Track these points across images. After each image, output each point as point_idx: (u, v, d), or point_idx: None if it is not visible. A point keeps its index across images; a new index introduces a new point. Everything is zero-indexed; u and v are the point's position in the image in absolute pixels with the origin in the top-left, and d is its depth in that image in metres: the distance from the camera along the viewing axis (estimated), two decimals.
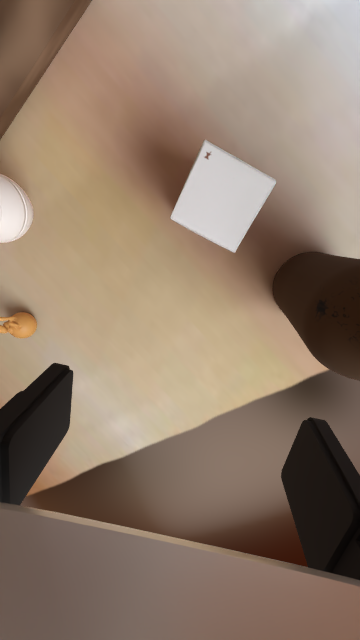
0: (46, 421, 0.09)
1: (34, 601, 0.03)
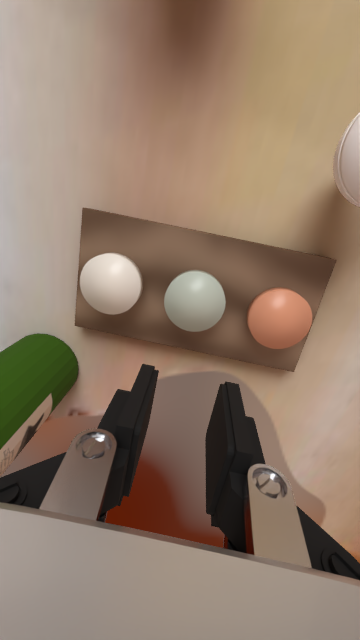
0: (147, 415, 0.10)
1: (34, 601, 0.03)
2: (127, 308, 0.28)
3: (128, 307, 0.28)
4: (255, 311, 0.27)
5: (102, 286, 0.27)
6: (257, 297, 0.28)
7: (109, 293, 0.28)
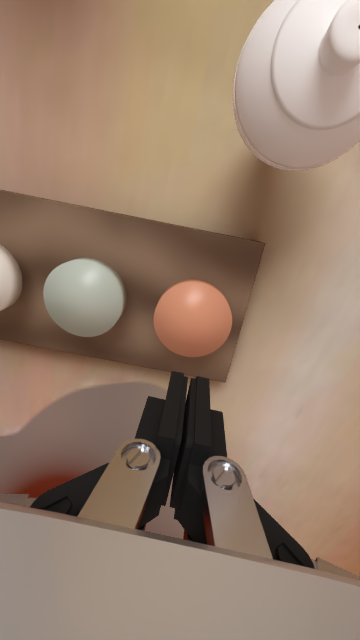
0: None
1: (34, 601, 0.03)
2: None
3: None
4: (160, 309, 0.21)
5: None
6: (164, 292, 0.22)
7: None
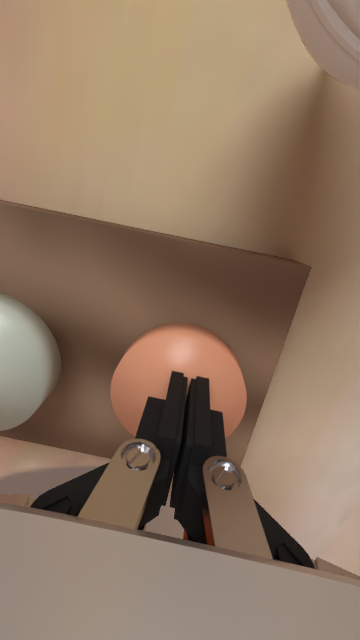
0: None
1: (34, 601, 0.03)
2: None
3: None
4: (121, 378, 0.12)
5: None
6: (131, 345, 0.13)
7: None
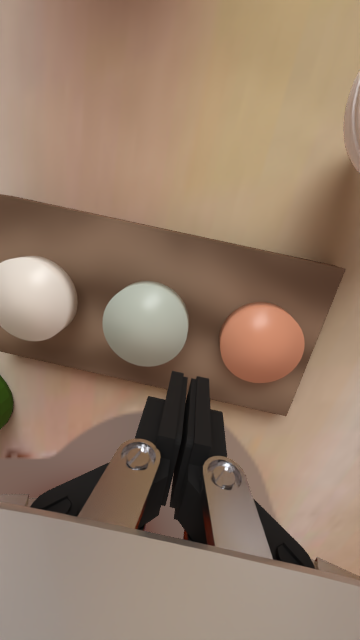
0: None
1: (34, 601, 0.03)
2: (53, 333, 0.20)
3: (54, 332, 0.20)
4: (228, 333, 0.20)
5: (16, 303, 0.20)
6: (232, 315, 0.21)
7: (27, 312, 0.20)
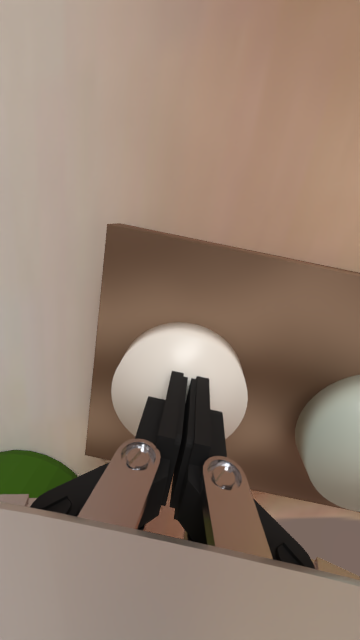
0: None
1: (34, 601, 0.03)
2: None
3: None
4: None
5: None
6: None
7: None
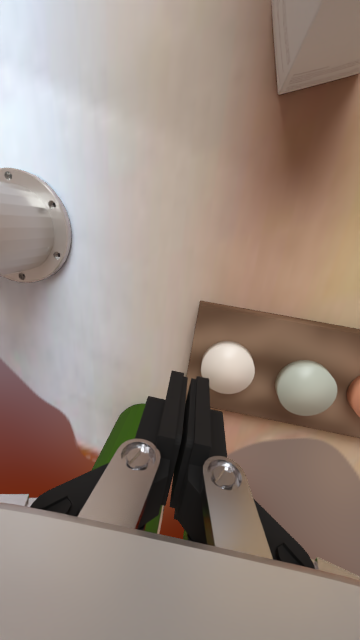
0: None
1: (34, 601, 0.03)
2: (241, 389, 0.32)
3: (242, 388, 0.32)
4: None
5: (221, 371, 0.32)
6: None
7: (226, 377, 0.32)
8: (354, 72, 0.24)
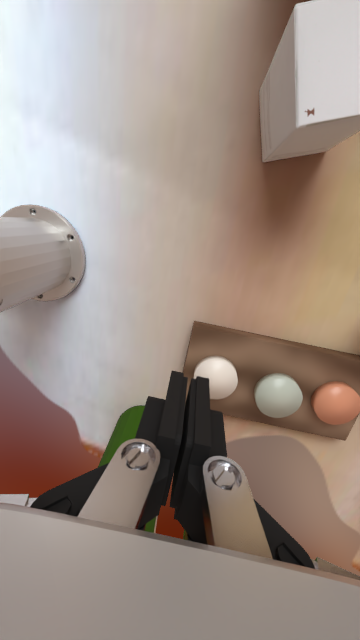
0: None
1: (34, 601, 0.03)
2: (226, 395, 0.39)
3: (227, 395, 0.39)
4: (320, 399, 0.38)
5: (210, 381, 0.38)
6: (321, 388, 0.38)
7: (214, 385, 0.38)
8: (321, 151, 0.31)
